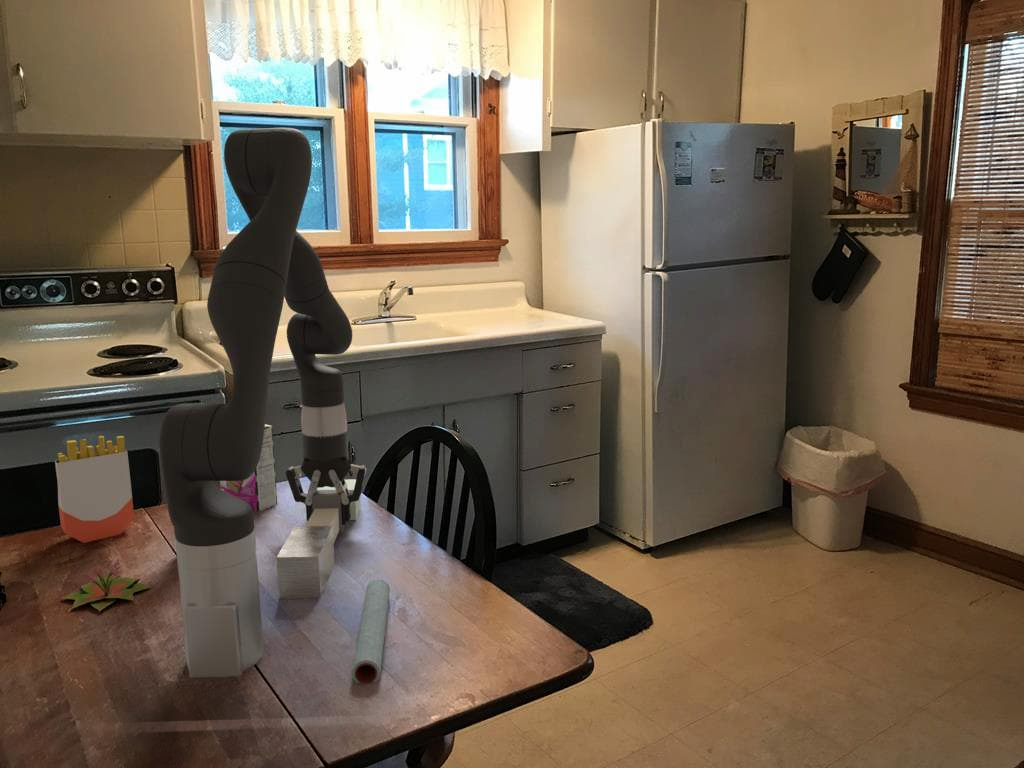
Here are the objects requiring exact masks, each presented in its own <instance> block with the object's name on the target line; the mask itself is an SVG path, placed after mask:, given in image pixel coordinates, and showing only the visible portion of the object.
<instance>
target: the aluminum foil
mask: <svg viewBox="0 0 1024 768" xmlns="http://www.w3.org/2000/svg"><path fill="white" fill-rule="evenodd" d="M390 592H391V588H390V585H389V584H388V582H386V581H385V580H383V579H379V578H378V579H377V578H376V579H372V581H370V582H368V584H367V586H366V590H365V596H364V602H363V606H362V607H363V608H362V611H361V618H360V623H359V629H358V636H357V640H356V645H355V646H356V647H355V651H354V653H355V654H354V658H353V664H352V667H351V668H352V669H351V676H352V679H353V681H354V682H355V683H356V684H362V685H364V684H365V685H366V684H371V683H377V682H378V681H379V679H380V677H381V672H382V671H381V669H382V661H383V654H384V652H383V651H384V644H385V636H386V627H387V617H388V610H389V608H388V607H389V602H390V601H389V600H390Z"/></svg>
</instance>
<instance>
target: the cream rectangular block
mask: <svg viewBox="0 0 1024 768" xmlns="http://www.w3.org/2000/svg"><path fill="white" fill-rule="evenodd" d="M334 544H335V542H334V543H333V526H306V525H304V526H294V527H293V528H292V530H291V531H290V534H289V535H288V537H287V538H286V540H285V542H284V543H283V545H282V547H281V549H280V551H279V552H278V554H277V556H276V569H277V571H276V572H277V584H278V585H277V586H278V598H279V600H280V599H283V600H284V599H317V598H319V599H321V598H322V596H323V594H324V590H325V588H326V587H327V586H326V585H327V583H328V580H329V578H330V576H331V573H332V572H333V571H332V570H333V568H334V565H335V547H334Z"/></svg>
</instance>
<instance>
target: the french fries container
mask: <svg viewBox="0 0 1024 768" xmlns="http://www.w3.org/2000/svg"><path fill="white" fill-rule="evenodd" d="M77 445H78V444H77V441H76V440H75V439H73V440H72V439H71V440H66V449H67V450H66V452H67V456H66V454H63V452H59V453H57V457H58V462H57V461H56V460H54V464H55V473H56V479H57V481H56V482H57V500H58V501H57V504H58V512H59V513H58V514H59V520H60V522H59V523H60V527H61V529H62V530H63V532H64V534H66V535H67V536H69V537H71V538H73V539H75V540H77V541H79V542H81V543H83V544H85V543H88V542H93V541H98V540H100V539H101V540H102V539H106V538H109V537H114V536H115V537H116V536H120V535H122V534H123V533H124V531H125V530H126V529H127V528H128V527H129V526H130V525H131V524H132V523H133V521H134V520H135V514H134V512H135V511H134V504H133V503H134V501H133V494H132V493H133V492H132V482H131V475H130V463H129V456H128V450H127V449H126V447H125V436H123V435H119V436H116V445H114V444H113V440H107V441H106V447H105V436H104V435H99V436H98V445H96V446H95V447H96V452H95V447H94V446H93V445H87V439H84V438H83V439H82V438H81V439H80V445H79V447H77Z"/></svg>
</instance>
